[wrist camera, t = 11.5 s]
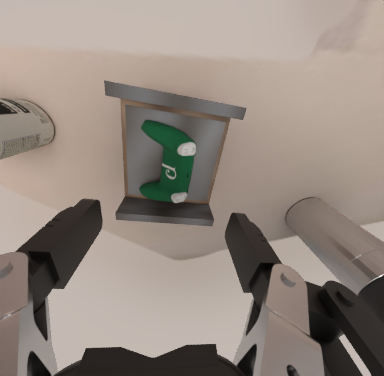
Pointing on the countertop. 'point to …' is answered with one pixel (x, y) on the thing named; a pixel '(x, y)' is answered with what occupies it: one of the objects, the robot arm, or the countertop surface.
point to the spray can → (22, 127)
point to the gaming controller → (170, 163)
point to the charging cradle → (153, 152)
